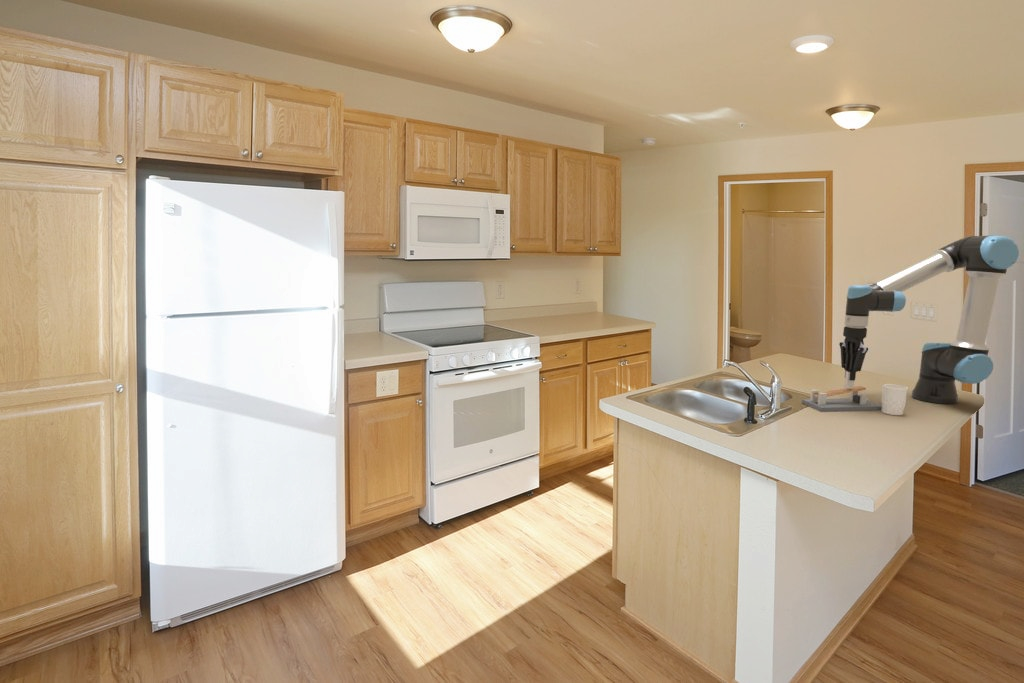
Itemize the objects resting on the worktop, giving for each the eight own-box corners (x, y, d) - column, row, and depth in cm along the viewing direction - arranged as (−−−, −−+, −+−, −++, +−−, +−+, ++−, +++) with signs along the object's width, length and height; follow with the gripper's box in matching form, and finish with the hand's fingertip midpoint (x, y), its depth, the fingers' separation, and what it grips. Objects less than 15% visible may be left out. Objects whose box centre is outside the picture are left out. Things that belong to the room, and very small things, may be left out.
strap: (860, 388, 222) (860, 385, 222) (865, 390, 219) (865, 387, 219) (813, 396, 221) (813, 393, 220) (818, 398, 218) (818, 395, 217)
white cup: (908, 416, 208) (912, 389, 207) (884, 415, 210) (887, 388, 208) (899, 410, 216) (902, 384, 214) (875, 409, 217) (878, 383, 216)
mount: (861, 401, 228) (863, 386, 227) (883, 410, 216) (885, 394, 215) (801, 402, 225) (803, 387, 224) (821, 411, 214) (822, 395, 213)
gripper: (834, 324, 222) (828, 384, 226) (858, 329, 209) (851, 392, 213) (853, 324, 223) (846, 383, 227) (877, 329, 210) (870, 392, 214)
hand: (848, 388), depth 220 cm, fingers closed
